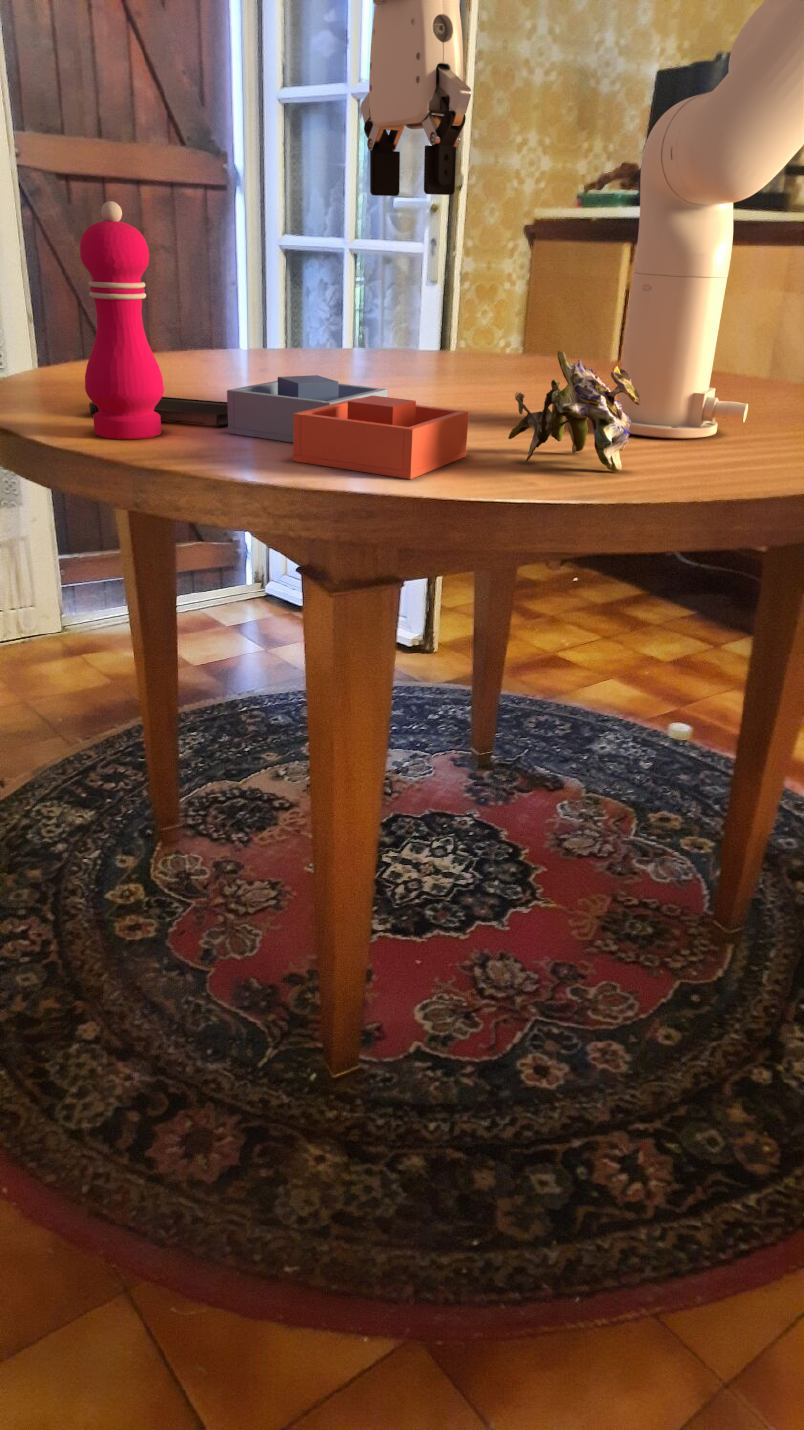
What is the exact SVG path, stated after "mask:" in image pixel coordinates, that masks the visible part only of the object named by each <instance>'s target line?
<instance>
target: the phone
mask: <svg viewBox="0 0 804 1430" xmlns="http://www.w3.org/2000/svg"><path fill="white" fill-rule="evenodd" d="M97 412H99V409H98V407H97V406H96V405H95V404H94V403H93V402H92V401H89V413H90V415H91V416H93V415H94V414H95V413H97ZM154 412H157V413H158V414H159V415H160V416H161V422H166V423H179V424H190V425H200V426H201V425H202V426H212V427H213V426H214V427H215V426H216V427H219V426H228V407H227V401H218V400H207V399H195V398H183V397H171V396H170V397H169V396H162V398H161V399H160V401H159V402H158V403H157V405H156V406H155V408H154Z"/></svg>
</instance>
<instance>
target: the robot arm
mask: <svg viewBox="0 0 804 1430" xmlns="http://www.w3.org/2000/svg"><path fill="white" fill-rule="evenodd" d="M372 3H373V4H374V5H375V6H374V9H373V10H374V11H373V19H372V29H371V38H370V40H371V41H370V51H369V53H370V54H369V76H368V77H369V79H368V84H369V85H368V93H367V94H366V96H365V97H364V98H363V100H362V101H361V103H360V111H361V115H362V119H363V123H364V126H363V131H364V134H365V136H366V138H367V140H366V141H367V142H366V147H367V149H368V151H369V188H370V189H369V193H370V194H371V196H379V197H397V196H399V194H400V188H401V187H400V186H401V185H400V179H401V177H400V176H401V175H400V173H401V171H400V170H401V151H396V149H397V146H398V145H399V144H398V143H399V142H400V139H401V136H402V135H403V134H402V133H403V131H404V129H405V127H406V128H408V129H409V130H424V132H425V135H426V137H427V140H428V142H429V144H430V145H429V144H428V145H427V144H426V145H424V155H423V156H424V158H423V159H424V163H423V192H424V194H426V195H439V196H440V195H441V196H453V195H454V194H455V190H456V161H457V160H456V159H457V147H459V145H460V143H461V135H460V134H461V132H462V130H463V128H464V126H465V124H466V118H467V117H466V116H467V115H466V114H467V111H468V108H469V103H470V101H471V97H472V89H471V87H470V86H469V85H467V83H465V82H464V44H463V41H464V40H463V29H462V28H463V27H462V20H461V12H460V4H459V0H372ZM388 131H389V132H388ZM803 146H804V0H764V1H763V3H761V5H760V6H759V7H758V8H757V9H756V10H755V11H754V12H753V13H752V14H751V16H749V18H748V19H747V21H746V22H745V23H744V25H743V26H742V27H741V29H740V31H739V32H738V35H737V36H736V38H735V40H734V43H733V45H732V47H731V51H730V54H729V60H728V72H727V74H726V75H725V76H724V77H723V78H722V80H721V81H720V82H719V83H718V84H717V86H716V87H714V89H713V90H712V91H708V92H704V93H703V92H702V93H700V94H697V95H694V96H691V97H687V98H685V99H683V100H681V101H679V102H678V103H676V104H674V105H672V106H671V107H670V108H668V109H667V110H666V111H665V112H664V113H663V114H662V115H661V116H660V118H659V119H658V120H657V121H656V122H655V124H654V126H653V127H652V128H651V131H650V133H649V135H648V137H647V139H646V142H645V144H644V148H643V152H642V158H641V165H640V180H639V181H640V184H639V186H640V187H639V221H638V233H637V245H636V250H635V251H636V252H635V261H634V268H633V273H632V281H631V290H630V296H629V305H628V312H627V320H626V327H625V335H624V344H623V351H622V359H621V365H620V366H621V367H620V369H624V370H625V371H626V372H627V373H628V377H629V378H630V379H631V382H632V384H633V386H634V387H635V389H636V390H637V392H638V394H639V397H640V401H641V404H640V405H637V404H635V403H634V402H633V401H632V400H631V399H630V398H629V396H628V395H627V394H625V393H618V394H617V396H616V397H617V398H616V400H617V401H620V404H621V405H622V410H623V413H624V414H626V415H628V416H629V420H631V425H630V426H629V430H630V433H629V434H630V435H635V436H640V437H641V436H642V437H651V438H662V439H663V438H664V439H699V438H707V437H711V436H713V435H715V434H717V431H718V422H717V420H716V419H719V420H726V421H729V422H737V423H745V421H746V420H747V416H748V411H749V403H746V402H739V401H731V400H728V401H726V400H719V397H716V396H715V395H716V387H710V385H711V384H710V383H711V377H712V373H713V366H714V360H715V354H716V347H717V342H718V335H719V330H720V323H721V317H722V311H723V305H724V299H725V294H726V287H727V281H728V278H729V272H730V265H731V259H732V252H733V251H732V250H733V241H734V239H733V238H734V203H737V202H741V201H744V200H745V199H748V198H750V197H752V196H753V195H755V194H756V193H759V191H760V190H761V189H763V188H764V187H765V186H766V185H768V184H769V183H770V182H771V181H772V180H773V179H774V178H776V176H777V175H778V174H779V173H780V172H781V171H782V170H783V169H784V168H785V166H786V165H787V164H788V163H789V162H790V161H791V160H792V159H793V158H794V157H795V156H796V154H797V153H798V152H799V151H800V150H801V148H802V147H803ZM761 191H762V190H761Z"/></svg>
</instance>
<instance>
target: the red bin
mask: <svg viewBox="0 0 804 1430" xmlns="http://www.w3.org/2000/svg"><path fill="white" fill-rule="evenodd" d="M356 399H360V398H356ZM356 399H352V400H356ZM348 401H351V400H348ZM348 401H344V402H339V403H335V404H331V405H327V406H323V407H319V408H315V409H311V410H307V411H302V412H298V413H294V414H293V443H292V445H293V446H292V447H293V449H292V450H293V455H292V461H293V462H296V463H304V464H310V465H315V466H316V465H317V466H322V467H329V468H336V469H341V470H346V471H347V470H348V471H353V472H354V471H355V472H359V473H361V472H362V473H368V474H373V475H380V476H387V477H393V478H400V479H405V480H412V479H414V478H417V477H419V476H422V475H424V474H427V473H429V472H431V471H434V470H437V469H439V468H442V467H443V466H446V465H448V464H449V465H450V464H451V463H453V462H456V461H458V460H460V459H463V458H465V457H466V456H467V445H468V444H467V442H468V429H469V427H468V426H469V415H470V412H469V411H468V410H461V409H451V408H443V407H435V406H428V405H427V406H426V405H421V404H420V405H419V404H416V411H415V425H414V426H411V427H403V426H396V425H388V424H381V423H373V422H366V421H358V420H351V419H348Z"/></svg>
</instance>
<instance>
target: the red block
mask: <svg viewBox="0 0 804 1430" xmlns="http://www.w3.org/2000/svg"><path fill="white" fill-rule="evenodd" d="M416 405H417V401H416V400H415V399H414V400H413V399H404V398H398V397H397V398H396V397H389V396H388V397H381V396H373V395H372V396H368V397H364V398H360V399H356V400H351V401H348V419H351V420H358V421H366V422H373V423H381V424H388V425H396V426H403V427H411V426H414V425H415V411H416Z"/></svg>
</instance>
